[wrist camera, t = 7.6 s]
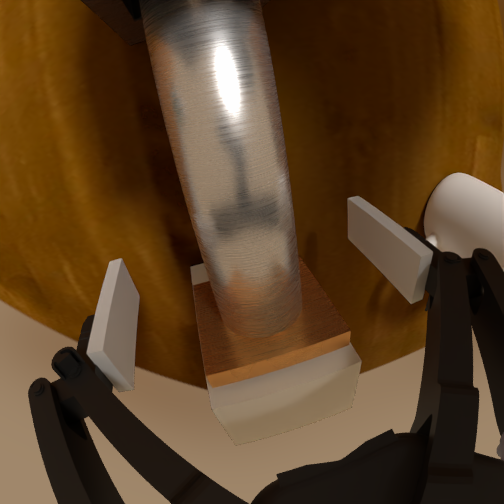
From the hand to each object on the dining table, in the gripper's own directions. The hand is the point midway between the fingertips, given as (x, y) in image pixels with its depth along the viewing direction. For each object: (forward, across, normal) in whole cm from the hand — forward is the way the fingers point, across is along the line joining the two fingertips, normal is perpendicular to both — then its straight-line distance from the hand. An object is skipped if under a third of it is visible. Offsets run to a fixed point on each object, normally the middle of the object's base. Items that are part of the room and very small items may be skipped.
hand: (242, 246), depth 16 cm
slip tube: (0, 0, +4) cm, 4 cm away
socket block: (+4, 0, -6) cm, 7 cm away
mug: (+4, +19, -5) cm, 20 cm away
